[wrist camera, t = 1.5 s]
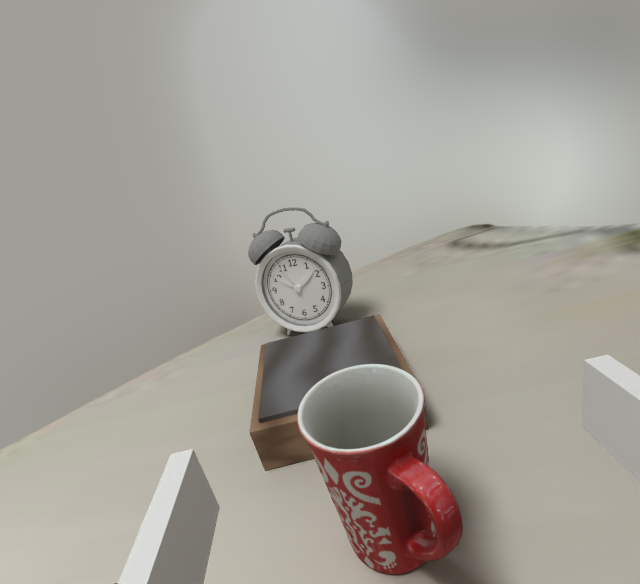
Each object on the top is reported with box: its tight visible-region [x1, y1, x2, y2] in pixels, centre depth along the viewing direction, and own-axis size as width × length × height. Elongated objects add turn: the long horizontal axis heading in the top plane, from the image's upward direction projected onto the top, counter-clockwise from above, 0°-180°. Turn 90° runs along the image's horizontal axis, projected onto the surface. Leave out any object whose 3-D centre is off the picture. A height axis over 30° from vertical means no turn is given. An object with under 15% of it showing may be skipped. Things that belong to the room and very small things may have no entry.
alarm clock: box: [248, 208, 352, 335], centre depth 63 cm, size 16×9×22 cm, turn 70°
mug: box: [297, 364, 463, 574], centre depth 27 cm, size 13×9×14 cm
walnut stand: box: [250, 315, 428, 471], centre depth 47 cm, size 18×18×6 cm
